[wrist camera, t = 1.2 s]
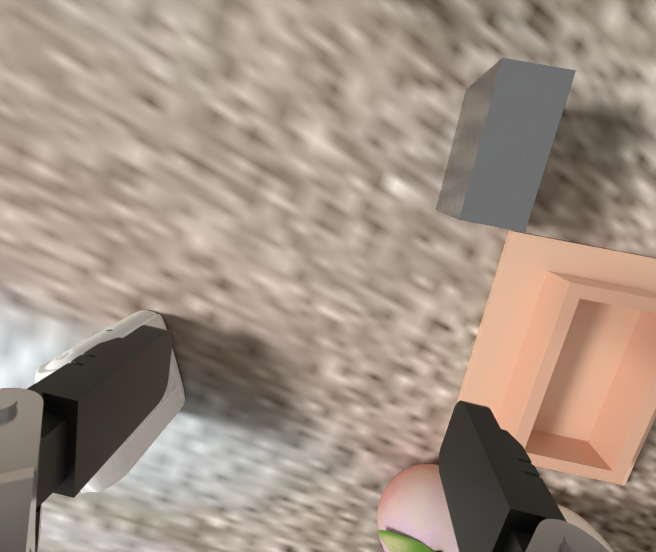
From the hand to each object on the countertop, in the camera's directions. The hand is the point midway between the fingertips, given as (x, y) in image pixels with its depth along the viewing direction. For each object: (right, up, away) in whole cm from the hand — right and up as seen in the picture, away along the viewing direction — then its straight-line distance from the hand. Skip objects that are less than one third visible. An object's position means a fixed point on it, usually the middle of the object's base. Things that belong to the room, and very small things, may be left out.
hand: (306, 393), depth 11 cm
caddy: (+21, -4, +23) cm, 31 cm away
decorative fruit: (+10, -16, +27) cm, 33 cm away
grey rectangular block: (+12, +12, +19) cm, 26 cm away
